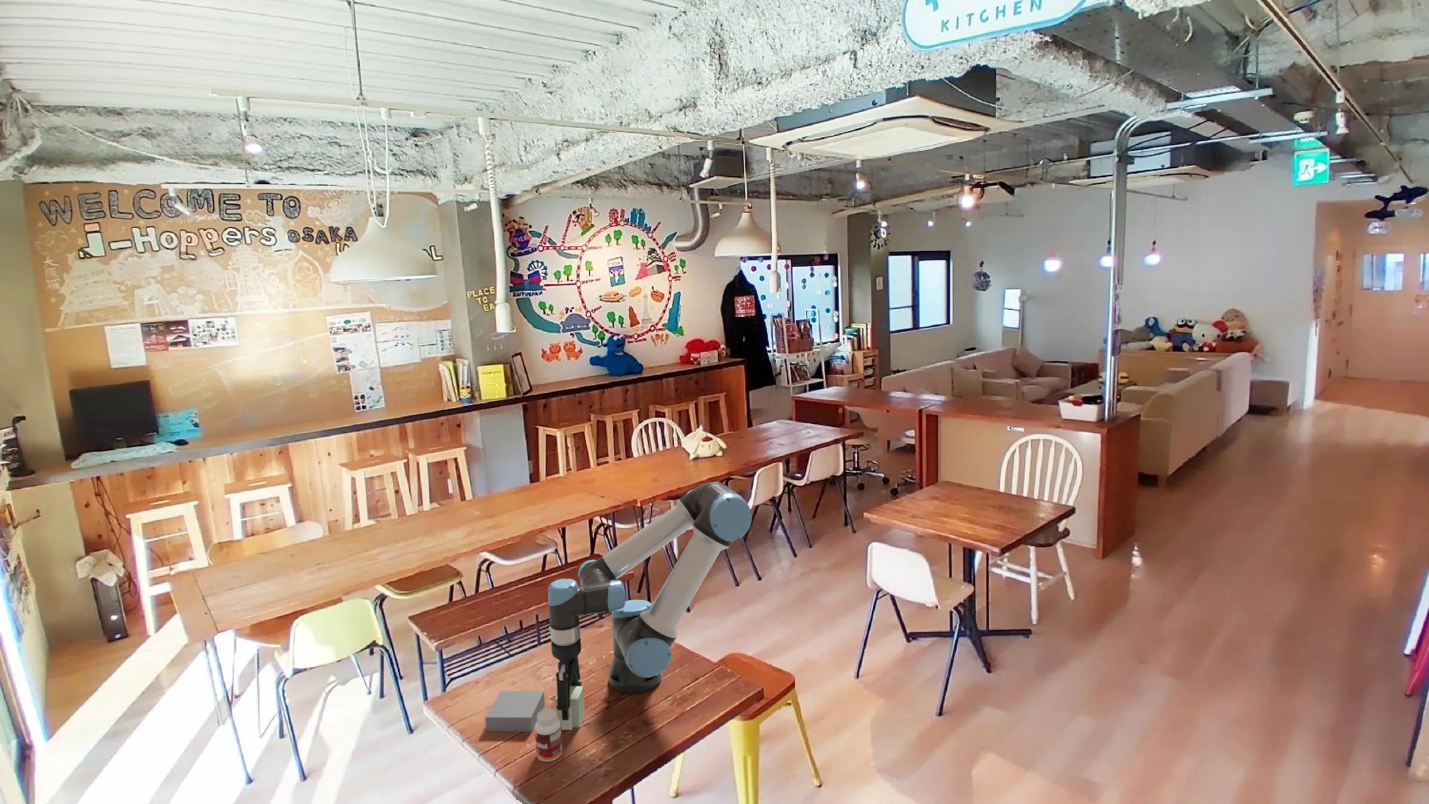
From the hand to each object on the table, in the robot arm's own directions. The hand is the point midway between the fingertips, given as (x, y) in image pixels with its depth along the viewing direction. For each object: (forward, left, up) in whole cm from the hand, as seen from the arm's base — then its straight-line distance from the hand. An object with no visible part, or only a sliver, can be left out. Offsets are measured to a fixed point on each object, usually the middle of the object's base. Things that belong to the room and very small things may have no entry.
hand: (571, 719), depth 195 cm
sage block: (0, 0, 0) cm, 0 cm away
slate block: (+15, -1, 0) cm, 15 cm away
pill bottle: (+2, +14, 0) cm, 14 cm away
